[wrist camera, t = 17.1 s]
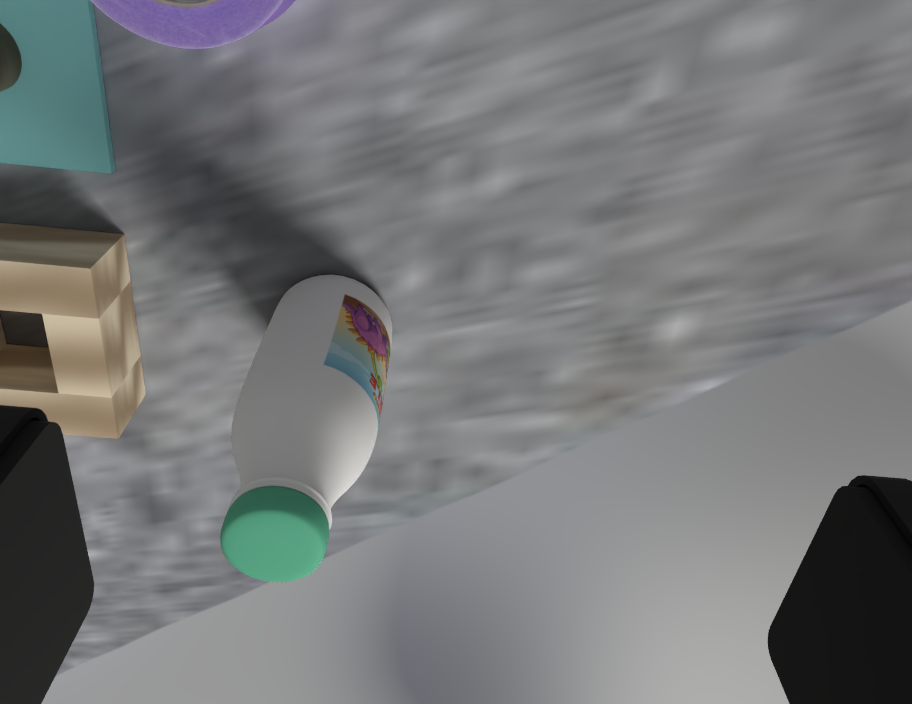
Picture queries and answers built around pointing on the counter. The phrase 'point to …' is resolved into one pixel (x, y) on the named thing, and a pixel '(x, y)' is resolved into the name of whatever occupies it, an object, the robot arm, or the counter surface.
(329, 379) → the milk bottle
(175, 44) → the tape roll
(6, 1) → the teal mat
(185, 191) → the counter surface
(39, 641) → the robot arm
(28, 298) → the eye block
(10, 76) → the walnut peg
